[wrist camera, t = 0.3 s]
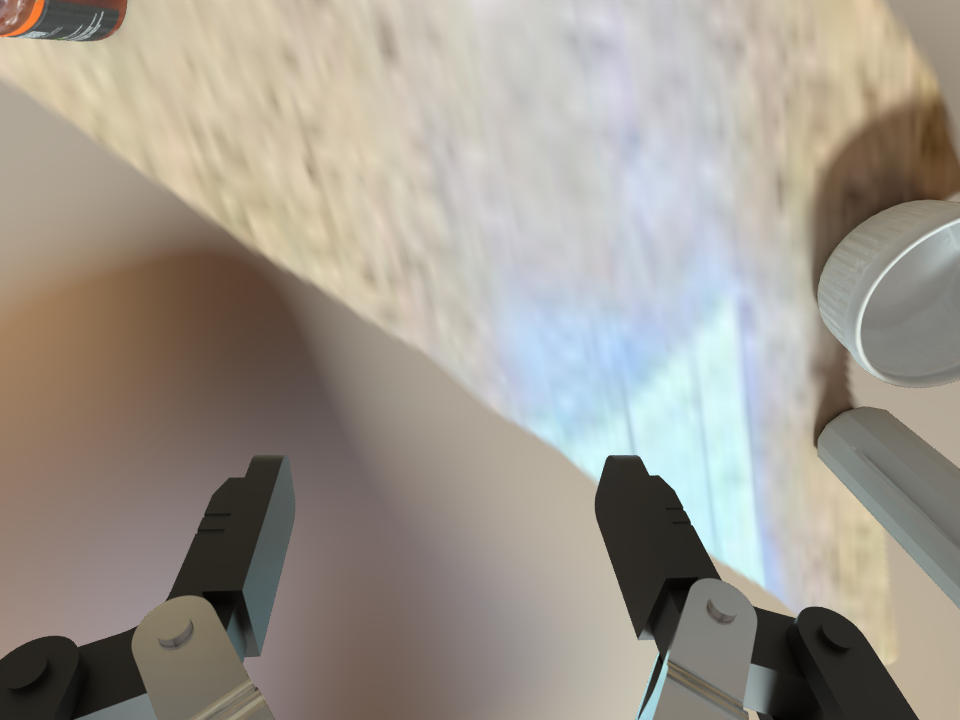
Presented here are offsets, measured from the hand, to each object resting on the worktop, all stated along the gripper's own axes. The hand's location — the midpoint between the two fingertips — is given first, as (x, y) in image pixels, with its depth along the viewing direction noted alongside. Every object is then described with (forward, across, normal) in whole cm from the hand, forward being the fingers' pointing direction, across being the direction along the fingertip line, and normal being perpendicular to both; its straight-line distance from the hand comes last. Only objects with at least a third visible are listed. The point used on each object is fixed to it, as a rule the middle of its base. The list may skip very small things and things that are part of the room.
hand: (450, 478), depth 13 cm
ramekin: (+26, -36, +4) cm, 44 cm away
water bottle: (+25, -39, +20) cm, 50 cm away
